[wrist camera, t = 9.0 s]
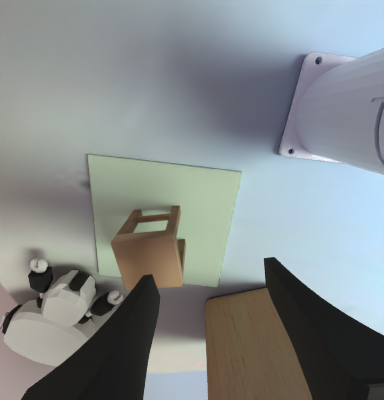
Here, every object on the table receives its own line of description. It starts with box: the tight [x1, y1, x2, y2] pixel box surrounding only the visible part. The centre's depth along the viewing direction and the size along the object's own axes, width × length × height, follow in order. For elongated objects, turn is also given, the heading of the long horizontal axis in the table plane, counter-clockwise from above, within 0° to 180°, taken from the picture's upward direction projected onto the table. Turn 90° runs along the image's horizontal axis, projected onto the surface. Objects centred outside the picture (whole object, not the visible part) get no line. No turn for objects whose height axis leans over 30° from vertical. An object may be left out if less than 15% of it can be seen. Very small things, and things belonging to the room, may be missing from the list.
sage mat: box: [88, 154, 242, 287], centre depth 22 cm, size 15×15×1 cm
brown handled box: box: [110, 206, 186, 290], centre depth 19 cm, size 5×5×6 cm
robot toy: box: [0, 258, 123, 366], centre depth 25 cm, size 12×4×15 cm
